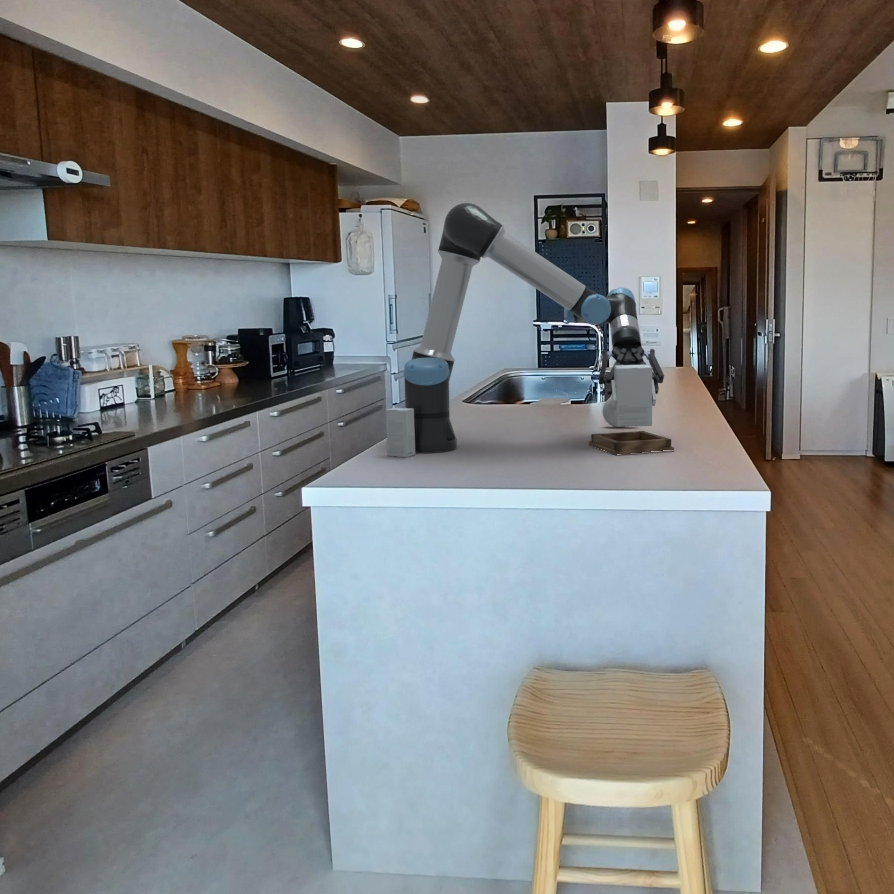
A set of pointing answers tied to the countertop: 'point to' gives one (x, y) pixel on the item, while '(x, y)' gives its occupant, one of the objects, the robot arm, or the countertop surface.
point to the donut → (609, 412)
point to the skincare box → (400, 432)
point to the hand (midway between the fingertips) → (634, 403)
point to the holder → (630, 442)
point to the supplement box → (633, 395)
